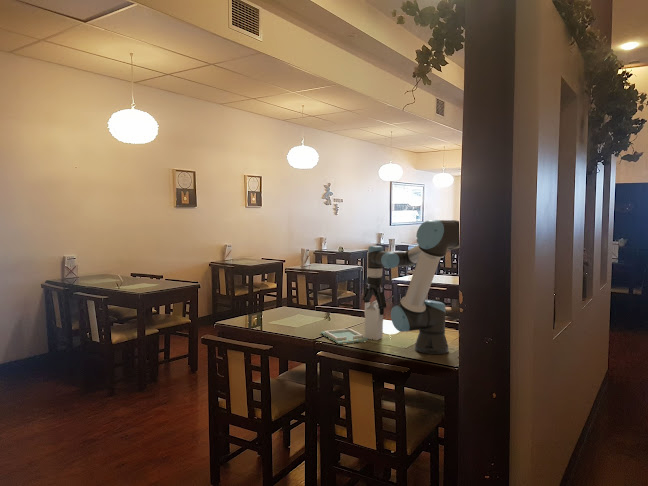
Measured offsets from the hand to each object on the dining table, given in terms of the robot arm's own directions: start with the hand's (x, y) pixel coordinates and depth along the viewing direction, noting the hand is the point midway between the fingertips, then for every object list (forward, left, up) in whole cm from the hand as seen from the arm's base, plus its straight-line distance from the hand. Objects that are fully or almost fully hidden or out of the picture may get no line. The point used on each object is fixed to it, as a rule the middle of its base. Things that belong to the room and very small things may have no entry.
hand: (373, 317), depth 236 cm
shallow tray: (+6, +14, -10) cm, 18 cm away
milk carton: (0, 0, -11) cm, 11 cm away
